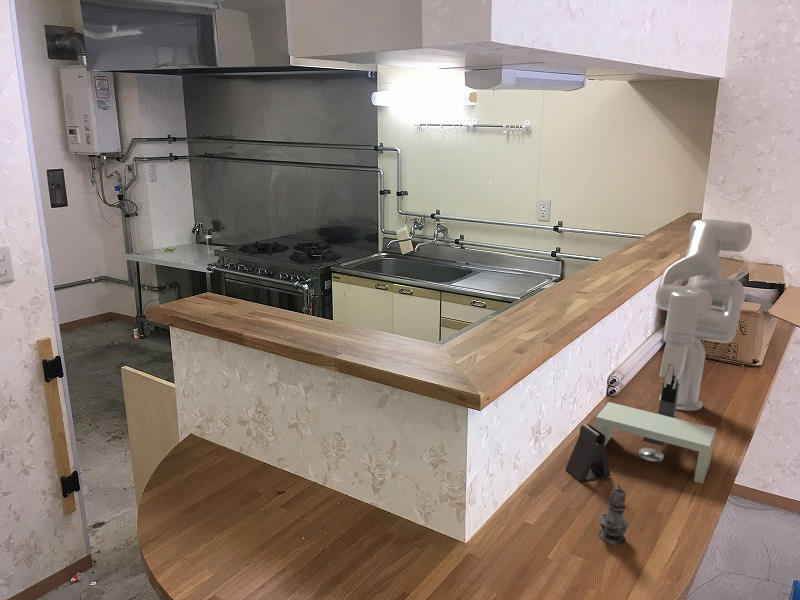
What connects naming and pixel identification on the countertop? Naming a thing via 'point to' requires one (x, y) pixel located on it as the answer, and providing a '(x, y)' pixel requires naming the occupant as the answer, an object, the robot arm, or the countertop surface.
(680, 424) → the low shelf
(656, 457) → the steel disc
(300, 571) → the countertop surface
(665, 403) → the gray l-shaped block
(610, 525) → the grey tall tapered piece
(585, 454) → the black wedge-shaped stand
